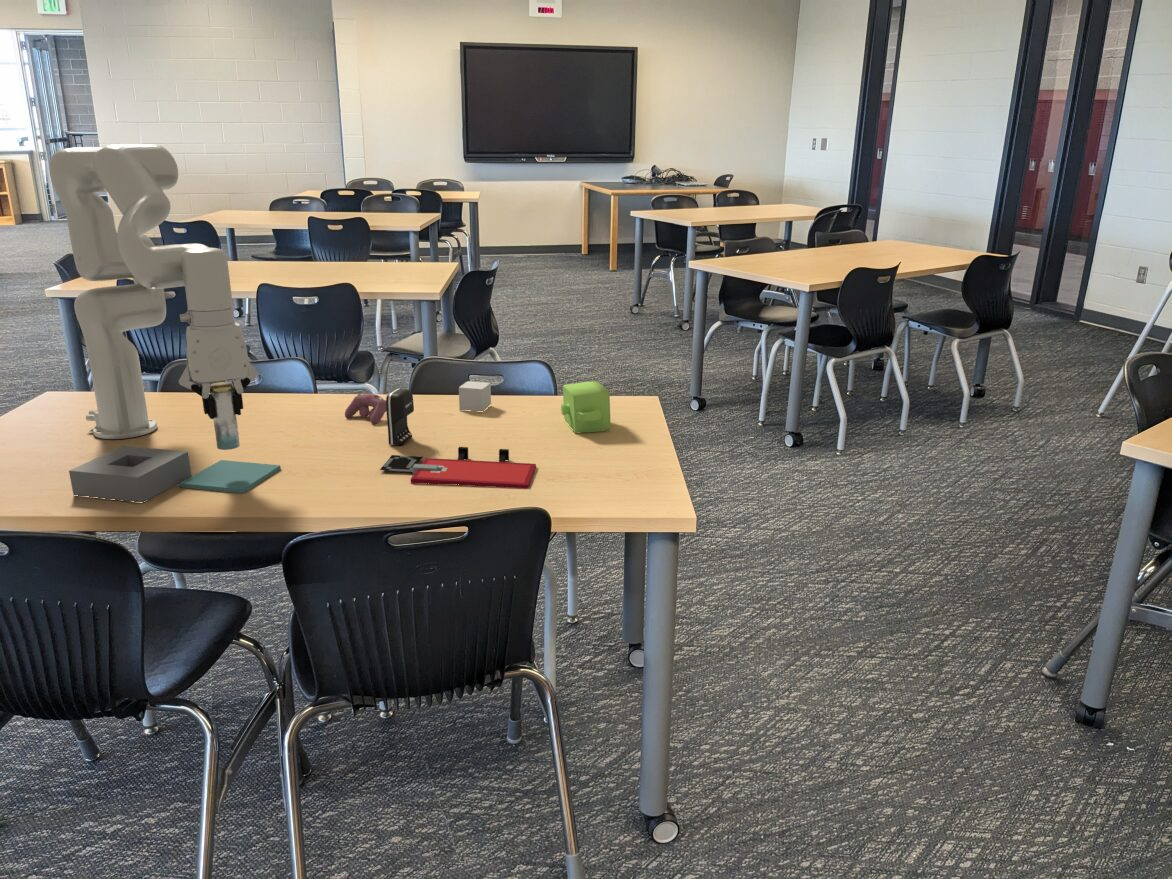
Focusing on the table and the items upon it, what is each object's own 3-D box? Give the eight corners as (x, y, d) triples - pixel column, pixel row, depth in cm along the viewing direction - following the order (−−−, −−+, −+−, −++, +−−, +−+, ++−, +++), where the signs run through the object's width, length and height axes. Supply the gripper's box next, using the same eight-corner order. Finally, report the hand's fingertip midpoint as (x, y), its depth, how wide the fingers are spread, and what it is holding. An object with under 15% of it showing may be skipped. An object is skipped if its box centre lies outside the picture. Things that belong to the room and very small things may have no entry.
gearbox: (553, 417, 208) (551, 379, 205) (592, 413, 211) (591, 375, 208) (571, 439, 192) (569, 398, 189) (614, 434, 194) (613, 393, 191)
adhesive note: (468, 404, 216) (467, 381, 214) (491, 406, 215) (490, 382, 213) (459, 411, 211) (458, 387, 209) (482, 413, 210) (482, 389, 208)
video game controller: (385, 427, 203) (393, 398, 203) (372, 423, 199) (380, 394, 199) (355, 420, 207) (363, 392, 208) (341, 416, 203) (349, 387, 204)
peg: (219, 451, 162) (211, 388, 158) (215, 445, 165) (207, 384, 161) (242, 447, 164) (234, 385, 160) (237, 441, 167) (229, 381, 163)
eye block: (73, 496, 157) (68, 470, 155) (127, 469, 170) (123, 445, 168) (142, 503, 154) (137, 477, 153) (191, 476, 167) (188, 451, 166)
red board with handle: (394, 456, 180) (372, 483, 166) (394, 443, 179) (371, 469, 165) (538, 463, 178) (528, 491, 164) (538, 450, 177) (528, 478, 163)
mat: (180, 487, 162) (179, 483, 162) (221, 463, 174) (221, 459, 174) (243, 493, 159) (242, 489, 159) (280, 469, 171) (280, 465, 171)
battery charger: (404, 447, 185) (401, 395, 181) (387, 446, 185) (384, 394, 182) (417, 437, 191) (414, 387, 187) (401, 436, 192) (398, 386, 188)
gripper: (164, 326, 149) (179, 427, 155) (265, 317, 158) (275, 413, 164) (158, 319, 155) (172, 417, 161) (254, 310, 164) (265, 404, 170)
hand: (224, 414), depth 162 cm, fingers closed on peg, 4 cm apart
